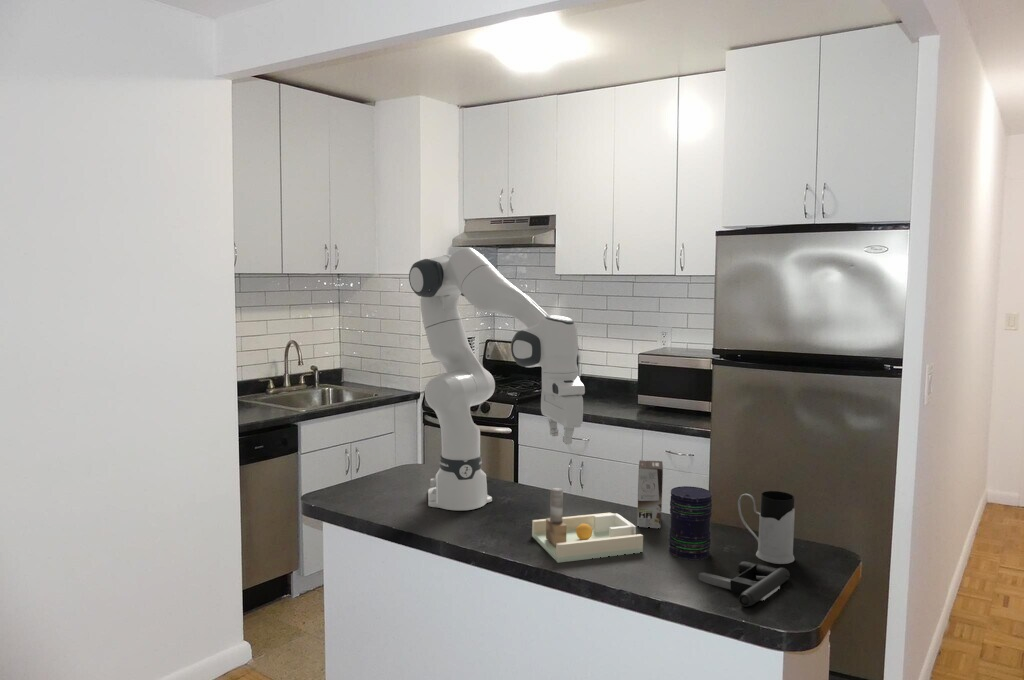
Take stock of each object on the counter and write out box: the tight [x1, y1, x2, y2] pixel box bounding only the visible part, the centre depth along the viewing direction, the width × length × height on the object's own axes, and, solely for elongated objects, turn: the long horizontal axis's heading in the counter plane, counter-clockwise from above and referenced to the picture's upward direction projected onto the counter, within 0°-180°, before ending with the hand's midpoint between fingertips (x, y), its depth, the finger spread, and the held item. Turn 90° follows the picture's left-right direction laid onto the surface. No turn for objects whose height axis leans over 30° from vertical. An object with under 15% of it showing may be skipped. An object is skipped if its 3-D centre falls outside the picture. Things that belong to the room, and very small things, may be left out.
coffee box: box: [636, 459, 664, 529], centre depth 202 cm, size 9×6×16 cm
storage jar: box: [668, 485, 713, 561], centre depth 181 cm, size 10×10×15 cm
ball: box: [576, 524, 592, 540], centre depth 186 cm, size 4×4×4 cm
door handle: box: [698, 560, 791, 608], centre depth 163 cm, size 3×20×16 cm
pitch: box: [531, 512, 644, 564], centre depth 186 cm, size 18×22×5 cm
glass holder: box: [737, 490, 796, 565], centre depth 181 cm, size 9×14×15 cm, turn 48°
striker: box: [545, 487, 567, 547], centre depth 183 cm, size 6×3×13 cm, turn 18°
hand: (560, 439), depth 182 cm, fingers open, 8 cm apart
